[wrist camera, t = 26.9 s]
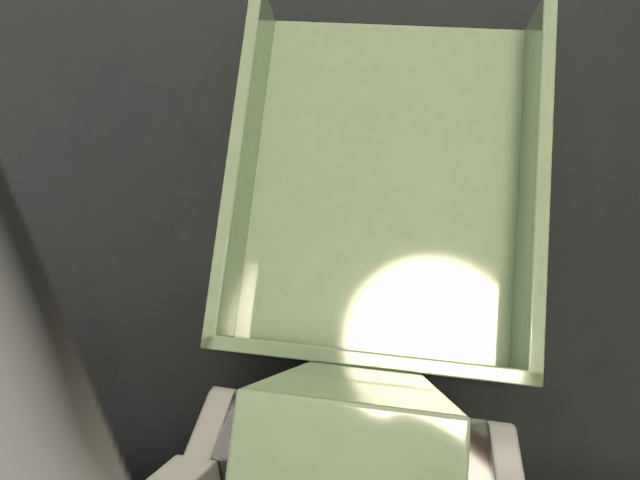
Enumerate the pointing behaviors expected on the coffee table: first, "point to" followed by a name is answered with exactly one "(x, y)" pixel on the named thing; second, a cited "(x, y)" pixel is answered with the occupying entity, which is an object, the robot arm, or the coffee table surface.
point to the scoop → (381, 238)
